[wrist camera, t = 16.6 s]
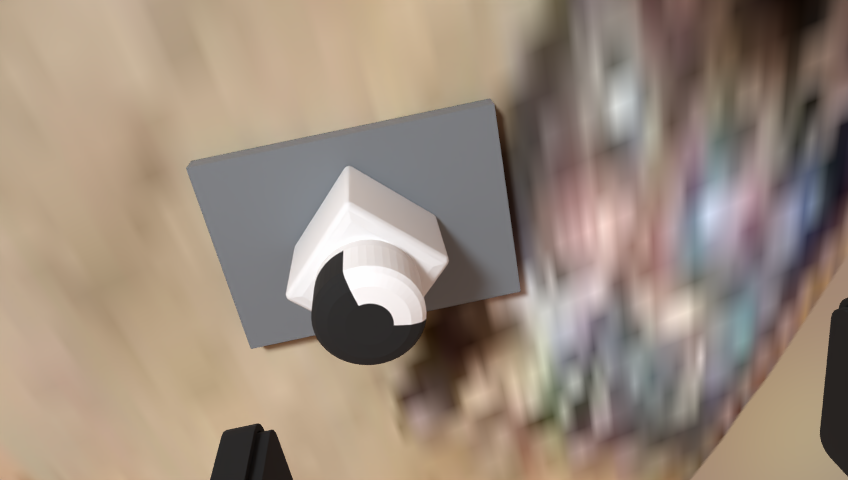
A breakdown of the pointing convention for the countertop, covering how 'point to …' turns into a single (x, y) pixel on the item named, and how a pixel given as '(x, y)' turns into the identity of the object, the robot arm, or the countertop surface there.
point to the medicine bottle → (366, 270)
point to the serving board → (385, 163)
